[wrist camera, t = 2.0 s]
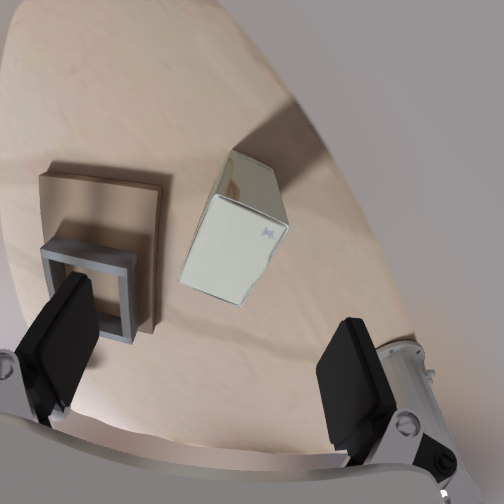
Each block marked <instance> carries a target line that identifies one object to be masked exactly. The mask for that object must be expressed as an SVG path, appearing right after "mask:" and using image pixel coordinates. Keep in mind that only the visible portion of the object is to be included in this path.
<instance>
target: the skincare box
mask: <svg viewBox="0 0 504 504" xmlns="http://www.w3.org/2000/svg"><path fill="white" fill-rule="evenodd" d="M288 230H289V222H288V219H287V215H286V212H285V208H284V204H283V201H282V197H281V194H280V191H279V187H278V184H277V180H276V177H275V173H274V170H273V168H271V167H269V166H267V165H265V164H263V163H261V162H259V161H257V160H255V159H253V158H251V157H249V156H247V155H244V154H242V153H239V152H237V151H234V150H231V151H230V153H229V154H228V156H227V158H226V160H225V162H224V164H223V166H222V168H221V170H220V172H219V174H218V176H217V178H216V180H215V183H214V185H213V187H212V190H211V192H210V195H209V197H208V200H207V202H206V204H205V207H204V209H203V212H202V214H201V217H200V220H199V223H198V225H197V228H196V231H195V233H194V236H193V239H192V241H191V244H190V246H189V249H188V252H187V255H186V257H185V260H184V263H183V266H182V269H181V272H180V274H179V277H178V283H180V284H182V285H185V286H187V287H190V288H192V289H194V290H197V291H199V292H201V293H204V294H206V295H208V296H211V297H214V298H216V299H219V300H221V301H223V302H226V303H229V304H231V305H234V306H237V307H240V306H242V305H243V304H244V302H245V300H246V299H247V297H248V296H249V294H250V293H251V291H252V289H253V288H254V286H255V285H256V283H257V281H258V280H259V278H260V277H261V275H262V273H263V272H264V270H265V268H266V267H267V265H268V263H269V261H270V260H271V258H272V256H273V255H274V253H275V251H276V250H277V248H278V246H279V245H280V243H281V241H282V240H283V238H284V236H285V234H286V233H287V231H288Z"/></svg>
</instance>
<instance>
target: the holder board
mask: <svg viewBox="0 0 504 504" xmlns="http://www.w3.org/2000/svg"><path fill="white" fill-rule="evenodd" d="M39 194H40V208H41V219H42V228H43V237H44V244H45V245H43V246H42V247H41V248H40V252H41V258H42V263H43V268H44V273H45V278H46V283H47V287H48V292H49V296H50V299H51V298H52V296H53V295H54V294H55V292H56V291H57V290H58V288H59V287H60V286H61V284H62V283H63V282H64V280H65V279H66V278H67V276H68V275H69V274H70V273H71V272H72V271H76V272H80V273H84V274H87V276H88V279H91V281H92V288H93V295H94V302H95V308H96V314H97V319H98V325H99V330H100V334H99V336H101V337H105V338H108V339H112V340H116V341H120V342H123V343H127V344H131V345H132V343H133V341H134V338H135V336H136V333H137V331H140V332H144V333H149V334H153V332H154V329H155V297H156V265H157V245H158V230H159V217H160V206H161V195H162V186H156V185H150V184H143V183H136V182H129V181H122V180H114V179H107V178H99V177H91V176H82V175H73V174H64V173H55V172H45V173H43V174H41V175H39Z"/></svg>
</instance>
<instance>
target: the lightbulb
mask: <svg viewBox="0 0 504 504" xmlns="http://www.w3.org/2000/svg"><path fill="white" fill-rule="evenodd" d="M70 408H71V406H69V407H65V410H64V413H62V412H59V411H57V410H54V409H53V411H52V414H51V415H50V416H51V419H52V420H53V421H61V420H63V419H65V418H66V417H67V416H68V415H69V413H70Z"/></svg>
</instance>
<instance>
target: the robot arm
mask: <svg viewBox="0 0 504 504" xmlns="http://www.w3.org/2000/svg"><path fill="white" fill-rule="evenodd" d="M99 334H100V330H99V325H98V319H97V314H96V308H95V302H94V295H93V288H92V281H91V279H88V276H87V274H84V273H80V272H76V271H72V272H71V273H70V274H69V275H68V276H67V278H66V279H65V280H64V282H63V283H62V284H61V286H60V287H59V288H58V290H57V291H56V292H55V294H54V295H53V296H52V298H51V299H50V301H49V302H47V303H46V304H45V306H44V307H43V309H42V310H41V312H40V313H39V315H38V316H37V317H36V319H35V320H34V322H33V323H32V325H31V326H30V328H29V329H28V331H27V333H26V334H25V336H24V337H23V339H22V340H21V342H20V344H19V345H18V347H17V349H16V350H15V352H12V351H10V350H7V349H0V504H483V500H484V497H483V493H482V491H481V490H480V489H479V488H478V487H477V485H476V484H475V483H474V482H473V481H472V480H471V479H470V477H469V475H468V474H467V472H466V470H465V467H464V465H463V463H462V461H461V459H460V456H459V454H458V451H457V449H456V447H455V444H454V442H453V439H452V436H451V434H450V431H449V429H448V426H447V424H446V421H445V419H444V417H443V414H442V412H441V409H440V407H439V405H438V403H437V401H436V398H435V396H434V394H433V391H432V389H431V386H432V384H433V379H432V377H434V376H435V373H436V372H435V370H426V369H425V367H424V365H423V362H424V358H425V353H424V351H423V348H422V347H421V345H420V344H419V343H417V342H414V341H407V340H405V341H398V342H394V343H390V344H388V345H385V346H383V347H381V348H379V349H377V350H376V349H375V347H374V345H373V342H372V340H371V338H370V335H369V333H368V331H367V328H366V326H365V324H364V321H363V320H362V319H361V318H351V317H347V318H346V319H345V320H344V321H341V323H340V324H339V326H338V328H337V330H336V332H335V334H334V335H333V337H332V339H331V341H330V343H329V344H328V346H327V348H326V350H325V352H324V353H323V355H322V357H321V359H320V360H319V362H318V364H317V366H316V375H317V379H318V384H319V389H320V394H321V399H322V403H323V408H324V413H325V418H326V423H327V429H328V434H329V439H330V442H331V444H334V448H335V451H337V450H347V452H348V457H347V458H346V460H345V461H344V463H343V465H342V466H341V468H332V469H319V470H305V471H276V472H275V471H240V470H225V469H214V468H205V467H197V466H189V465H182V464H176V463H171V462H165V461H159V460H155V459H150V458H145V457H141V456H137V455H132V454H128V453H124V452H121V451H117V450H114V449H110V448H107V447H103V446H100V445H97V444H94V443H91V442H88V441H85V440H82V439H79V438H76V437H73V436H71V435H68V434H65V433H63V432H60V431H58V430H56V429H55V427H54V424H53V422H52V419H51V416H50V415H51V414H52V411H53V409H54V410H57V411H59V412H62V413H64V410H65V407H69V406H70V405H71V402H72V400H73V397H74V394H75V392H76V389H77V387H78V384H79V382H80V379H81V377H82V375H83V372H84V370H85V368H86V365H87V363H88V361H89V358H90V356H91V354H92V352H93V349H94V347H95V345H96V343H97V341H98V338H99Z"/></svg>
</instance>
